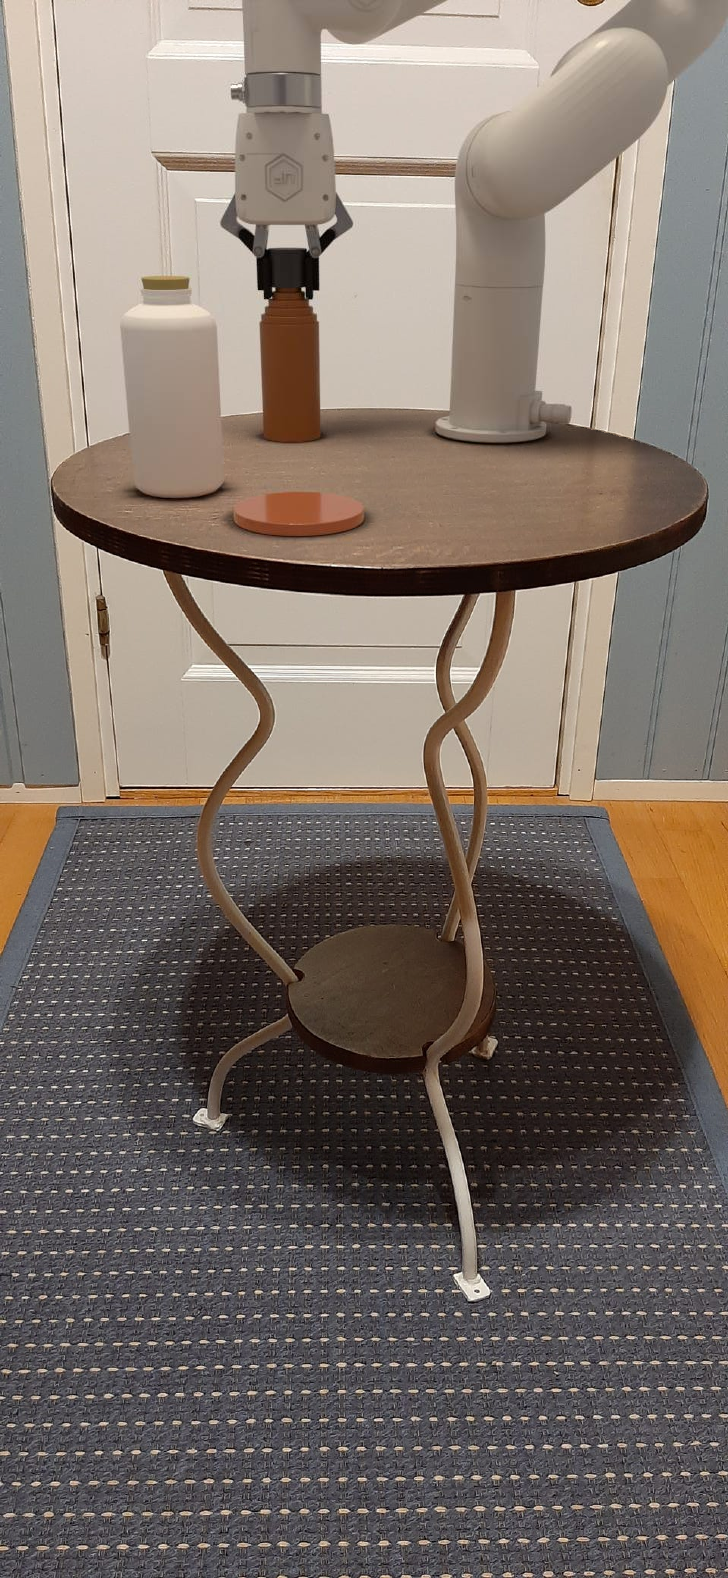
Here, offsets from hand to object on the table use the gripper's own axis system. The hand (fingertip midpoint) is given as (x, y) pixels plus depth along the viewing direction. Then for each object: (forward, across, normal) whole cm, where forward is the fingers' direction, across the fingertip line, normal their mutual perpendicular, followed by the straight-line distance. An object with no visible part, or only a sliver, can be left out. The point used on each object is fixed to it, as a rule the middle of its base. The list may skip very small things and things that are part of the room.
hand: (288, 296), depth 122 cm
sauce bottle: (+14, 0, 0) cm, 14 cm away
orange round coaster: (+14, +3, -36) cm, 39 cm away
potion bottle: (+15, -9, -26) cm, 31 cm away
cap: (-1, 0, 0) cm, 1 cm away
